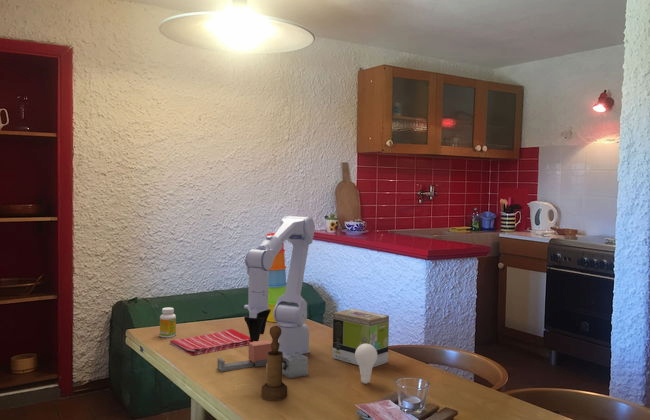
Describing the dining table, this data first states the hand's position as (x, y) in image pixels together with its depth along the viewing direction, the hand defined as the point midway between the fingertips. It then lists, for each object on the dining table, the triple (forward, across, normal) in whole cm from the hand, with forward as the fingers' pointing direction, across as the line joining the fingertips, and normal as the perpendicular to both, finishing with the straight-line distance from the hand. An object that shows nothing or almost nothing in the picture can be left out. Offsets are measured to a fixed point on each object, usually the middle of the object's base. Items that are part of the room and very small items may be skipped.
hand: (257, 337), depth 163 cm
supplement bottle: (+10, -32, -38) cm, 51 cm away
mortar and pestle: (+10, +19, +8) cm, 23 cm away
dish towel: (+10, -25, -20) cm, 33 cm away
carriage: (+10, -6, 0) cm, 11 cm away
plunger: (+8, +4, +7) cm, 11 cm away
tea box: (+10, -14, +30) cm, 34 cm away
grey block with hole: (+10, +1, +11) cm, 15 cm away
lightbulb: (+10, +7, +32) cm, 34 cm away
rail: (+10, -4, -3) cm, 11 cm away
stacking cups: (+9, -62, -4) cm, 63 cm away
